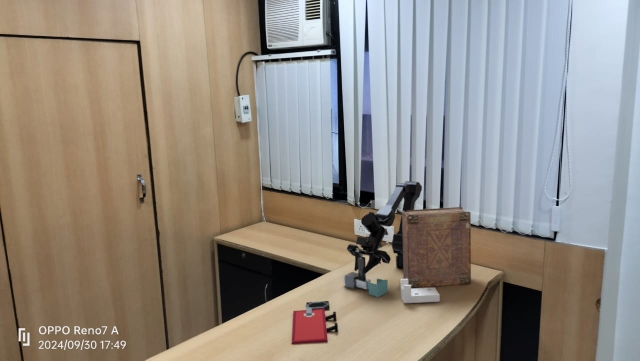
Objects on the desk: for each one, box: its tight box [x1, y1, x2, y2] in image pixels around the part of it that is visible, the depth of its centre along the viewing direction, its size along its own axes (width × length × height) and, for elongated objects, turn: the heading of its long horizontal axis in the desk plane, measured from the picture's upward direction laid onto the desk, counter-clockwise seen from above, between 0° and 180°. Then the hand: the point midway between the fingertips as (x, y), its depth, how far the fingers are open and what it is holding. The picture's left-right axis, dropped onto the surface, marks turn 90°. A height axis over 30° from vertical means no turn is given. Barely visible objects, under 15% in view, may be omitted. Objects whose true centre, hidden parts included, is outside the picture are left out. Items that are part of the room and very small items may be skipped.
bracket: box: [400, 278, 441, 304], centre depth 176 cm, size 13×7×8 cm, turn 90°
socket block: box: [368, 278, 389, 298], centre depth 185 cm, size 4×6×5 cm
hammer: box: [343, 256, 372, 290], centre depth 191 cm, size 12×3×12 cm, turn 48°
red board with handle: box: [291, 300, 339, 345], centre depth 163 cm, size 30×3×15 cm
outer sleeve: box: [344, 271, 359, 290], centre depth 193 cm, size 4×5×5 cm
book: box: [401, 206, 472, 289], centre depth 191 cm, size 25×9×30 cm, turn 94°
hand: (359, 271), depth 188 cm, fingers open, 4 cm apart
